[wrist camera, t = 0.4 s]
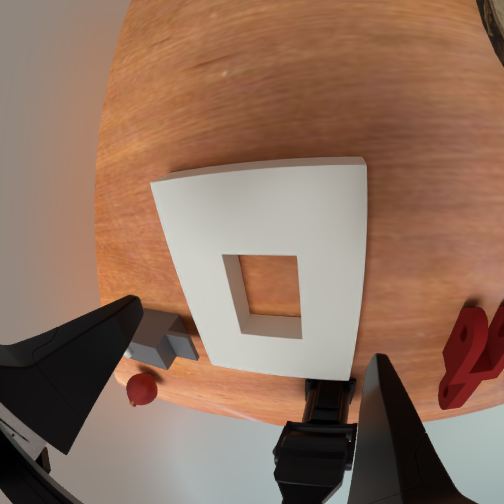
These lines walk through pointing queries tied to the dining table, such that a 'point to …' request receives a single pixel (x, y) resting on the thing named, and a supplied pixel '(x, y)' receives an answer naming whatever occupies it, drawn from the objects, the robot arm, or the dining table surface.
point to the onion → (141, 389)
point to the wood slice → (493, 23)
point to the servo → (160, 340)
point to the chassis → (271, 243)
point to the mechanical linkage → (471, 355)
